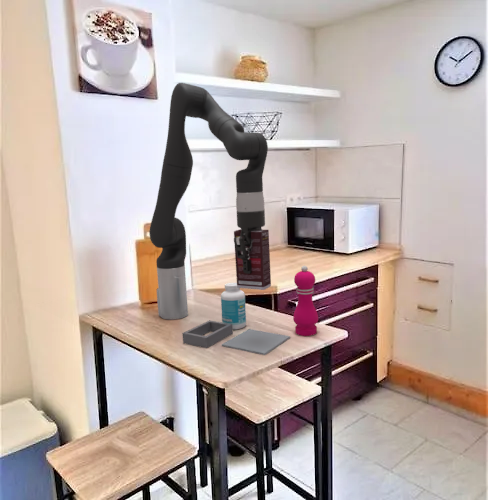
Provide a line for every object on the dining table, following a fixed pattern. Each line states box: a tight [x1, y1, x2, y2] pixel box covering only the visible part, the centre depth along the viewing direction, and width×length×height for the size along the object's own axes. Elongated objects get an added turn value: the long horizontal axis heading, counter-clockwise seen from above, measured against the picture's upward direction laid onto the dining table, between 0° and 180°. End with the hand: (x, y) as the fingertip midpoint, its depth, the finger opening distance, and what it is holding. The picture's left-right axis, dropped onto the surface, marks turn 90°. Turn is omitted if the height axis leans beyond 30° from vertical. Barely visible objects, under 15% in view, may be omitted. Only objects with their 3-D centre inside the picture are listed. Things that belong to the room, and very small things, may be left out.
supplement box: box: [233, 228, 272, 291], centre depth 127 cm, size 9×5×16 cm, turn 62°
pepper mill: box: [292, 265, 319, 337], centre depth 135 cm, size 7×7×20 cm
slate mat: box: [221, 328, 291, 356], centre depth 131 cm, size 14×14×1 cm
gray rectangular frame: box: [182, 320, 234, 349], centre depth 136 cm, size 8×12×3 cm
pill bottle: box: [220, 282, 247, 330], centre depth 144 cm, size 8×7×14 cm
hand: (253, 270), depth 128 cm, fingers closed on supplement box, 5 cm apart
